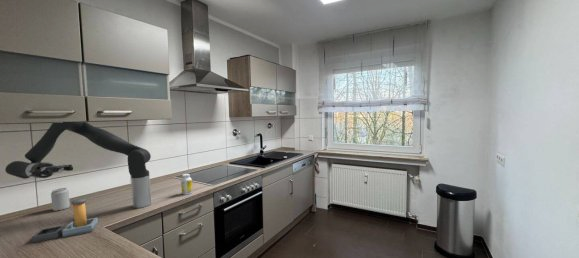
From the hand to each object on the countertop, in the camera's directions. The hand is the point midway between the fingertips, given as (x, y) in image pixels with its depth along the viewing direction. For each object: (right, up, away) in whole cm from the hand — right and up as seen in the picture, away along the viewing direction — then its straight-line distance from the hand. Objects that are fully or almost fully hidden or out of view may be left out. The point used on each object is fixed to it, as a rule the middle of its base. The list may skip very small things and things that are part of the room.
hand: (61, 170), depth 112 cm
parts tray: (+12, -27, -2) cm, 30 cm away
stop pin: (+12, -26, -2) cm, 29 cm away
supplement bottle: (+39, -24, +48) cm, 67 cm away
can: (-27, -28, +28) cm, 48 cm away
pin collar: (+2, -28, -7) cm, 29 cm away
